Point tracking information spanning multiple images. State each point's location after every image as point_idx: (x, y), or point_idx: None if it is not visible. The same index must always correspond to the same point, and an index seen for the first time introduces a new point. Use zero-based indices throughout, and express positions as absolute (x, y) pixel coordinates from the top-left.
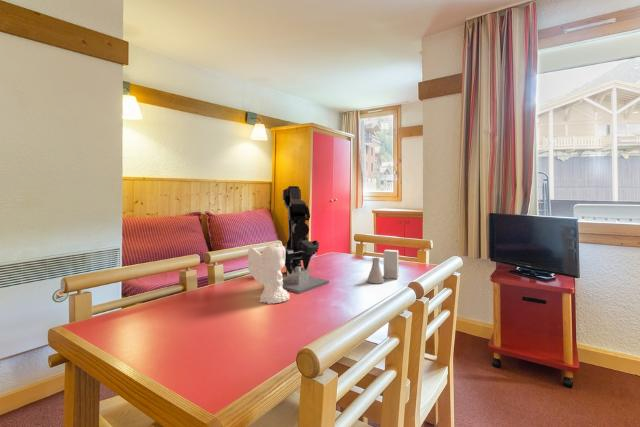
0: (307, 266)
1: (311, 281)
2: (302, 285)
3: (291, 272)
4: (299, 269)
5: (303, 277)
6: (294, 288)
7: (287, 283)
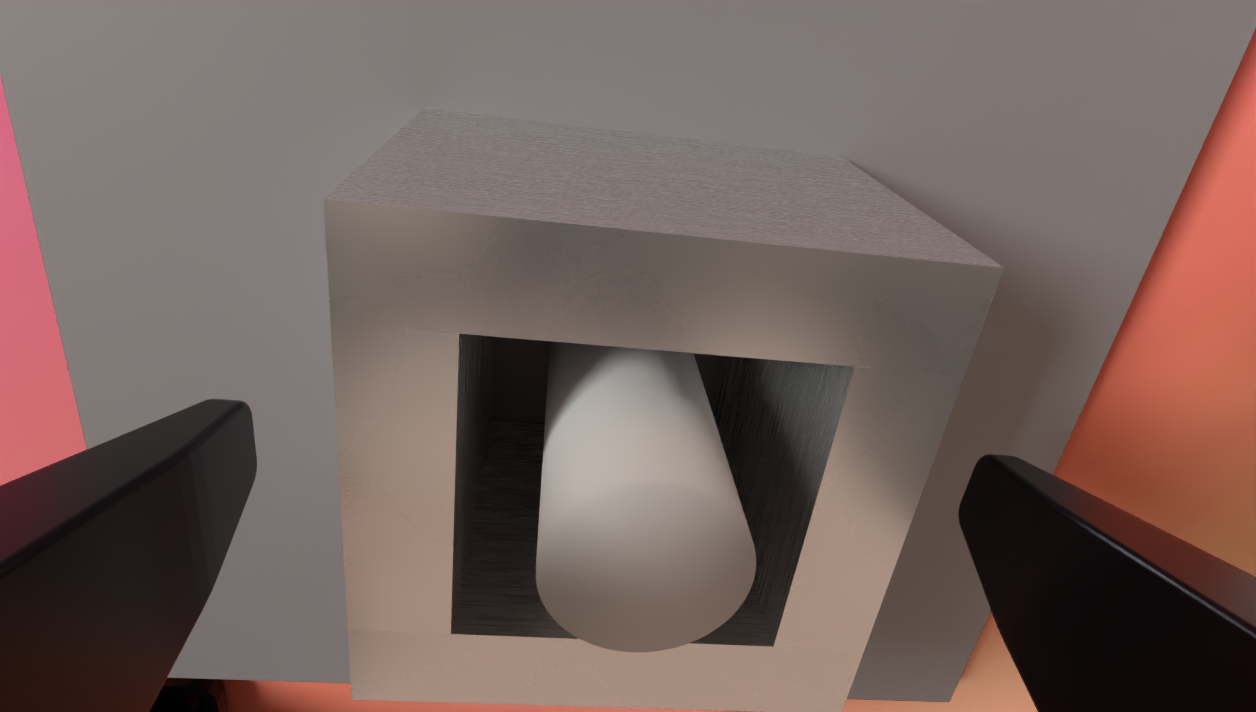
0: (141, 439)
1: (417, 22)
2: (877, 16)
3: (1029, 476)
4: (686, 442)
5: (681, 169)
6: (1187, 42)
7: None
